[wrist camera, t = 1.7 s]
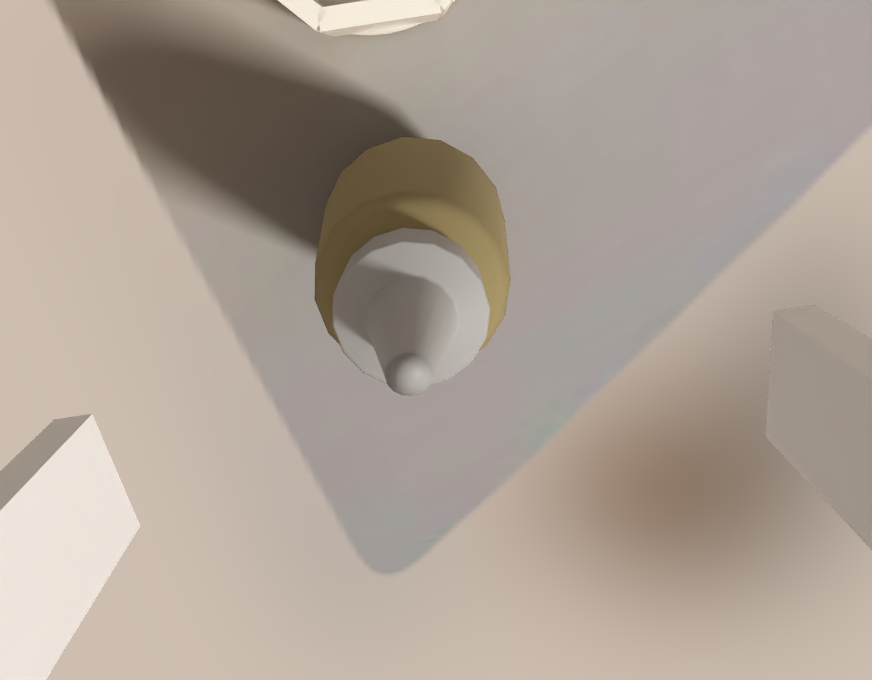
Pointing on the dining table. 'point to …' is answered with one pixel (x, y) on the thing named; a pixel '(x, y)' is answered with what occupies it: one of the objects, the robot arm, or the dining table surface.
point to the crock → (366, 15)
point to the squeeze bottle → (412, 262)
